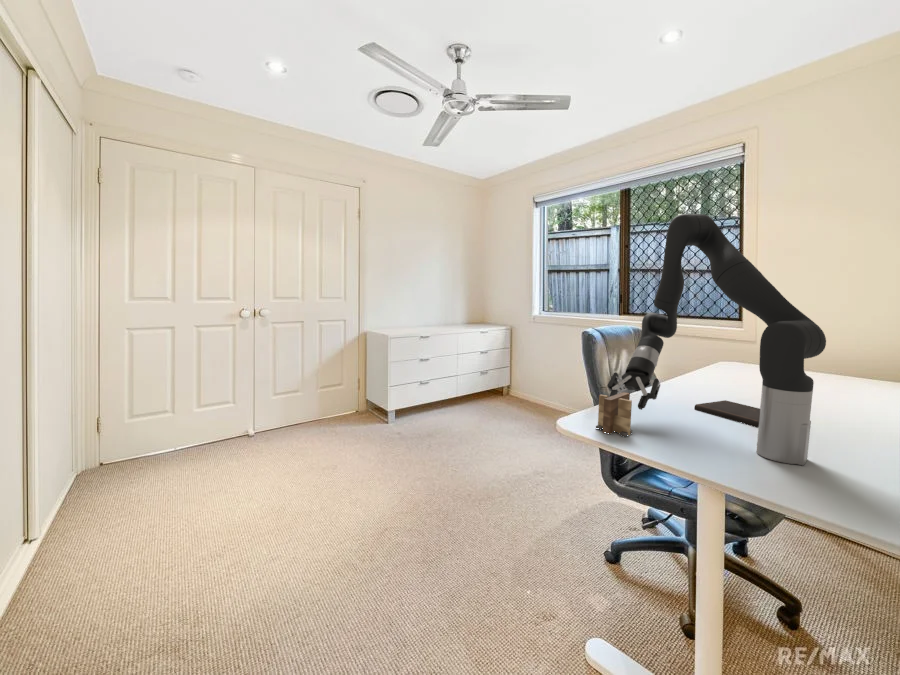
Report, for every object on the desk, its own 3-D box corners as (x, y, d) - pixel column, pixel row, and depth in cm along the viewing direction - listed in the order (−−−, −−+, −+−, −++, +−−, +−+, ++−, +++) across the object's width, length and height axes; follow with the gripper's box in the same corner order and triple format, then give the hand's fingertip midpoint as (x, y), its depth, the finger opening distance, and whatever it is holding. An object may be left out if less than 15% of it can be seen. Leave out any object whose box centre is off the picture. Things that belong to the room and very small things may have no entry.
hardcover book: (724, 406, 142) (725, 400, 141) (801, 425, 120) (801, 418, 120) (694, 411, 136) (694, 404, 135) (768, 432, 114) (769, 424, 114)
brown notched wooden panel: (628, 425, 119) (629, 393, 118) (609, 434, 111) (610, 400, 110) (621, 423, 120) (623, 391, 119) (602, 432, 112) (604, 398, 111)
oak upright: (632, 433, 111) (634, 399, 110) (625, 437, 109) (627, 402, 108) (602, 426, 118) (603, 393, 117) (595, 429, 115) (596, 395, 114)
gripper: (617, 353, 128) (598, 393, 122) (664, 358, 118) (646, 402, 111) (623, 367, 132) (606, 406, 126) (669, 373, 122) (652, 417, 115)
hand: (625, 404), depth 118 cm, fingers open, 8 cm apart
